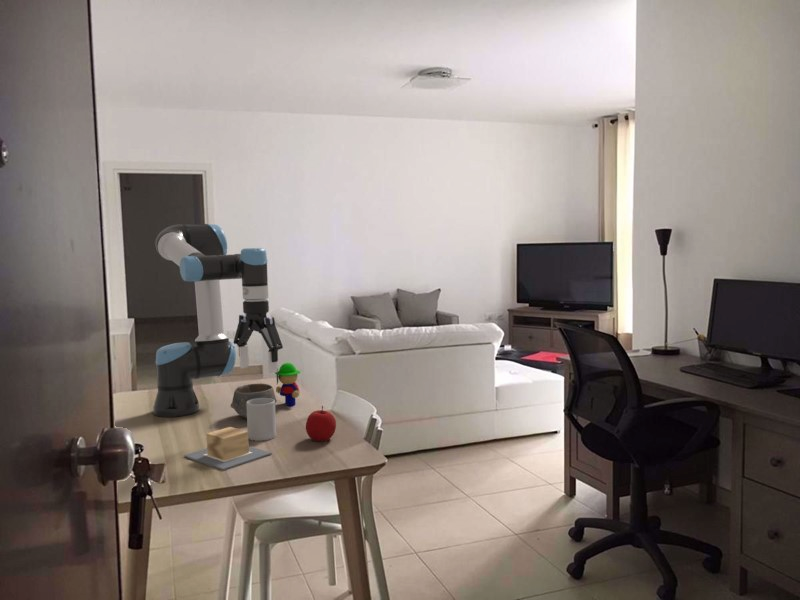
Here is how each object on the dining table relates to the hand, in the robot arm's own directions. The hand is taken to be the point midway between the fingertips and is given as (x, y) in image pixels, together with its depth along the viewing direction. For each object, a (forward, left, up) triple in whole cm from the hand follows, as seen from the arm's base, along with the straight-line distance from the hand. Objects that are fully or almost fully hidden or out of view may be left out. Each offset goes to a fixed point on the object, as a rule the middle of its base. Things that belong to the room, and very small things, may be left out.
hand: (258, 370), depth 209 cm
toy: (-22, +30, -20) cm, 43 cm away
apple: (+18, +8, -20) cm, 28 cm away
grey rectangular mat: (+8, -18, -20) cm, 28 cm away
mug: (0, 0, -20) cm, 20 cm away
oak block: (+8, -18, -20) cm, 28 cm away
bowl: (-18, +12, -20) cm, 30 cm away
